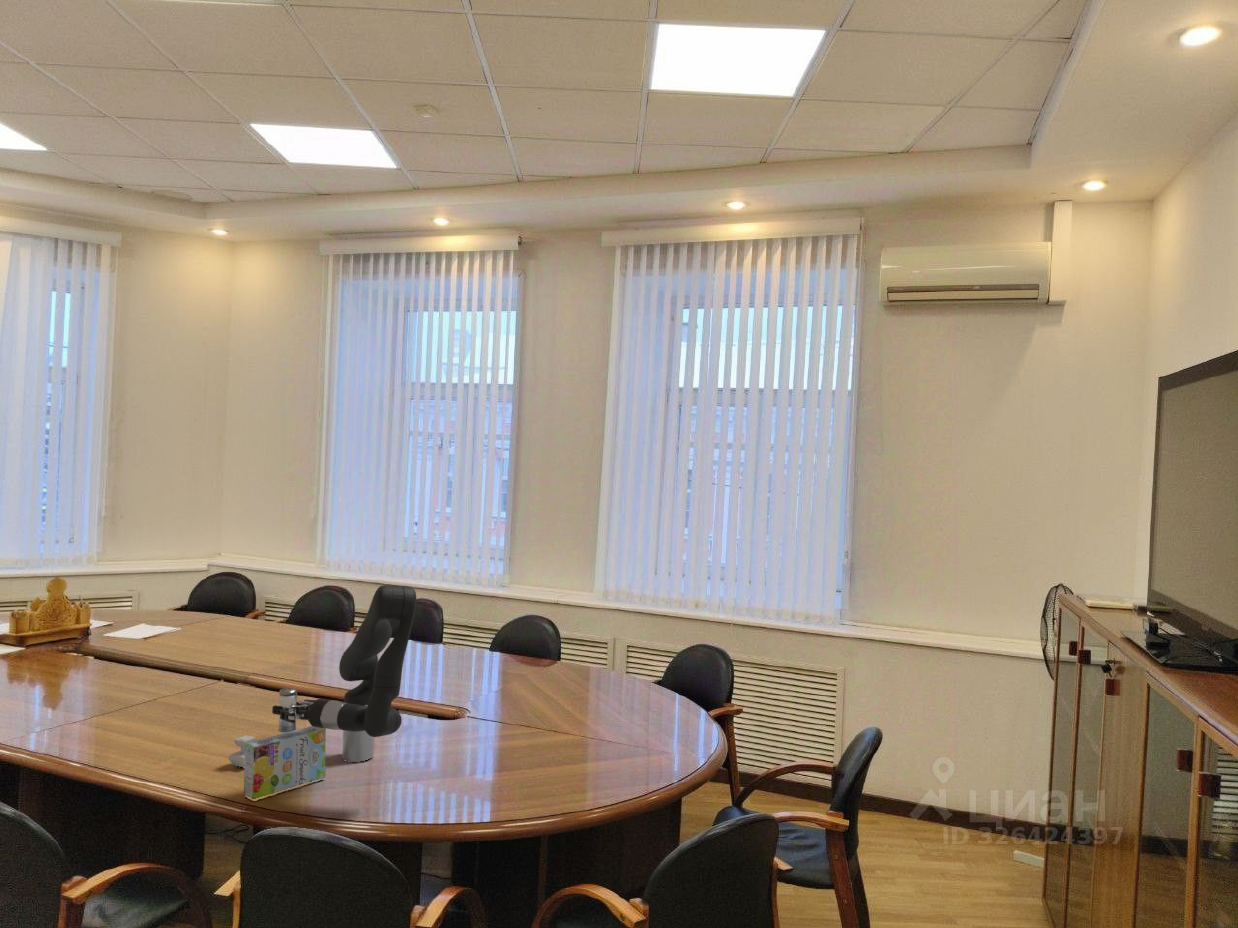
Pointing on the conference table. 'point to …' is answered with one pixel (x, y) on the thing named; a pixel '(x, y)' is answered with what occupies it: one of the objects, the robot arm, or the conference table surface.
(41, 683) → the conference table surface
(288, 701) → the metal tin
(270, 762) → the snack box
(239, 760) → the white blocky piece
